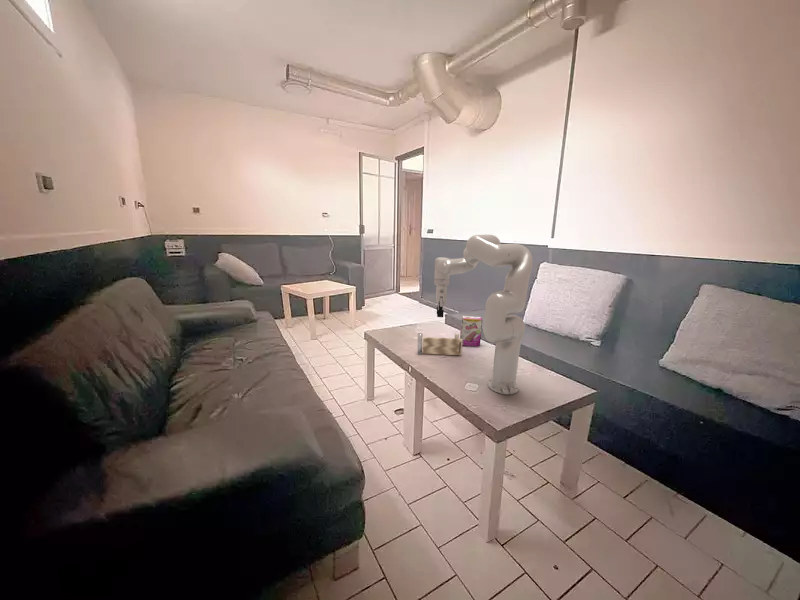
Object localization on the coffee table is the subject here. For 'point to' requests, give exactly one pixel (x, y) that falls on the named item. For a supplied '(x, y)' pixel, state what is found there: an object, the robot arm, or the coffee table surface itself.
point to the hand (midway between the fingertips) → (439, 315)
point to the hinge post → (419, 344)
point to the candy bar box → (471, 330)
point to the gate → (442, 346)
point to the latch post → (456, 335)
